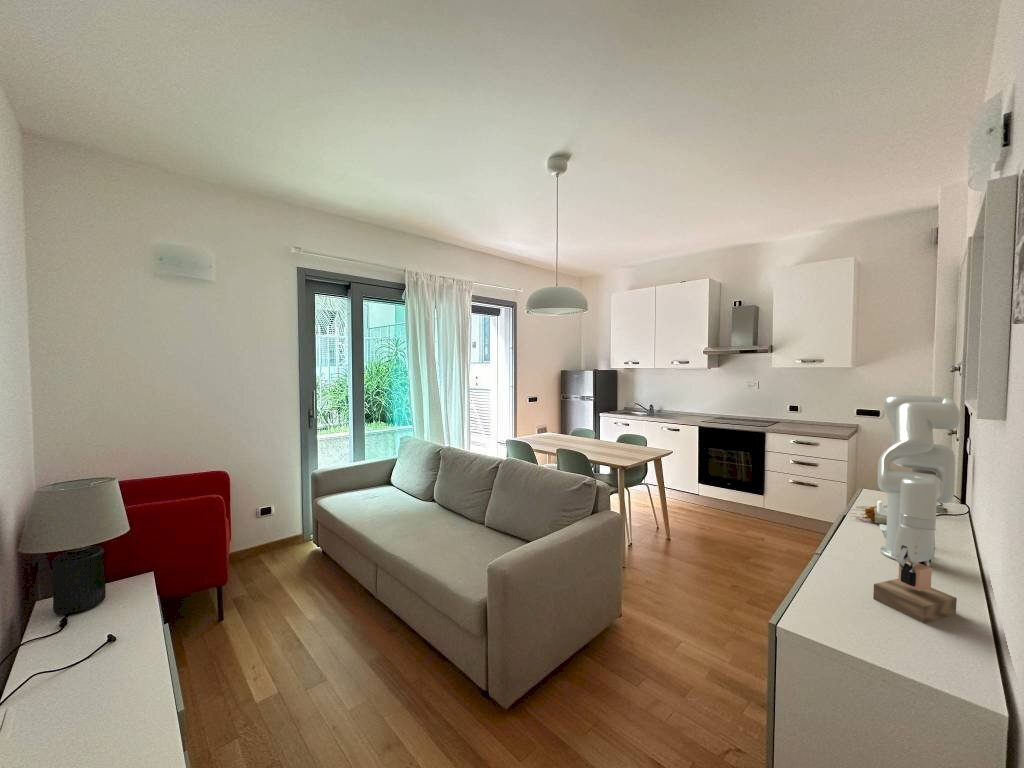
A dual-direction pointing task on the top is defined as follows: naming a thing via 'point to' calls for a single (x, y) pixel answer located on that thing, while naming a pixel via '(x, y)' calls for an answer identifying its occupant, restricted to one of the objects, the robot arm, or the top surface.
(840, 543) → the top surface
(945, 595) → the walnut plinth
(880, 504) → the figurine
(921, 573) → the peach block
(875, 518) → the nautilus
